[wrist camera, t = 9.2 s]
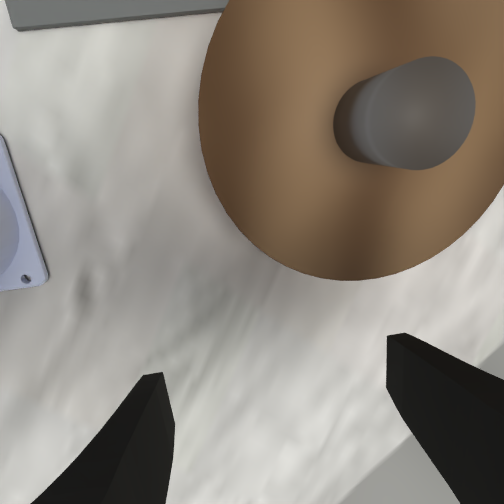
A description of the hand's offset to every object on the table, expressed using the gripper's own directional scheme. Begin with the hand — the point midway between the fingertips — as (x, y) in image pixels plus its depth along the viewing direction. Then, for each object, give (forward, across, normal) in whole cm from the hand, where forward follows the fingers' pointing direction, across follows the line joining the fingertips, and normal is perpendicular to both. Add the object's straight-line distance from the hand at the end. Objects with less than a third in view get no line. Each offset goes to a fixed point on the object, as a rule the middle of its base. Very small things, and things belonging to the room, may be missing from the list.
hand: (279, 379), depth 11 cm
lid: (+5, -5, -7) cm, 10 cm away
